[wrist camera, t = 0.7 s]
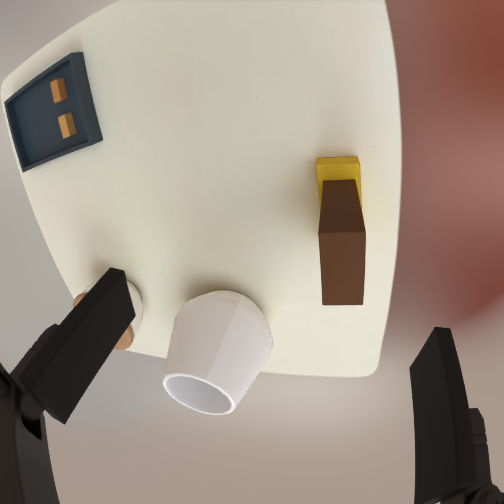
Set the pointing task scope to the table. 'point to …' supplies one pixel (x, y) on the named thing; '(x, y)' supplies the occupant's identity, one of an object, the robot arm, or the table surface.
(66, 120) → the crumb
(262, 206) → the table surface
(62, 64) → the tray
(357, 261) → the brush
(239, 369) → the white vase
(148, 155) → the table surface
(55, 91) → the crumb
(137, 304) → the trinket box
